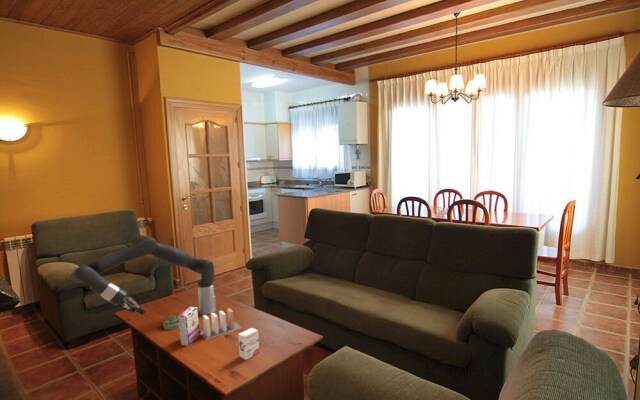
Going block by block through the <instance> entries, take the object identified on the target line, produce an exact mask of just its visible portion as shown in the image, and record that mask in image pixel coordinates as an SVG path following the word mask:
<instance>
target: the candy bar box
mask: <svg viewBox="0 0 640 400" xmlns="http://www.w3.org/2000/svg"><path fill="white" fill-rule="evenodd" d="M177 317H178V320H179V327H178V328H179V339H180V346H190V345H191V344H192V343H193V342H195V341H196V340H197V339H198V338H199V337H200V335H201V333H200V323H199V311H198V306H188V308H186V309H185V310H184V311H183V312H181V313H180V314H178V315H177Z"/></svg>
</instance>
